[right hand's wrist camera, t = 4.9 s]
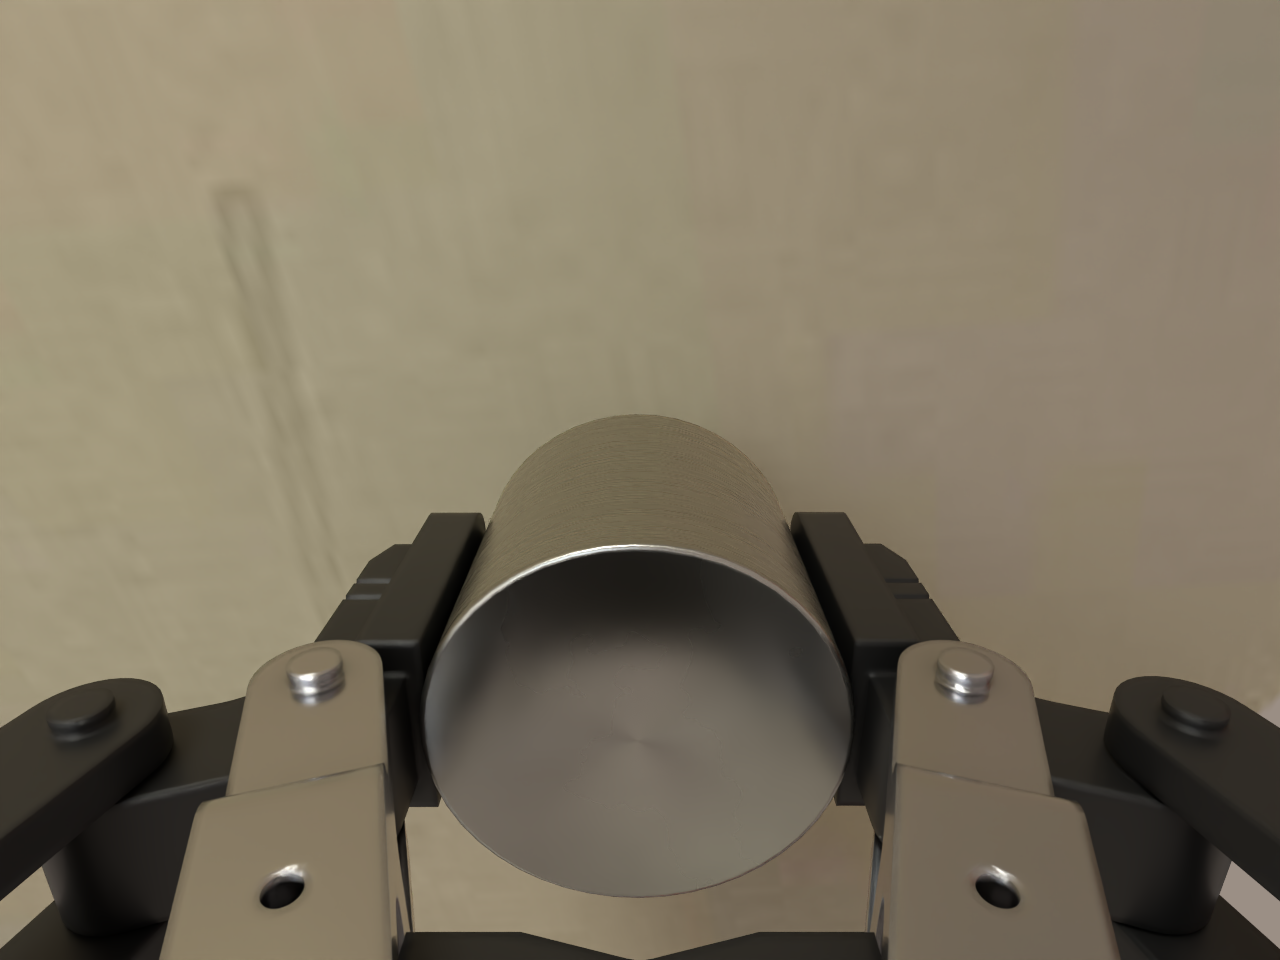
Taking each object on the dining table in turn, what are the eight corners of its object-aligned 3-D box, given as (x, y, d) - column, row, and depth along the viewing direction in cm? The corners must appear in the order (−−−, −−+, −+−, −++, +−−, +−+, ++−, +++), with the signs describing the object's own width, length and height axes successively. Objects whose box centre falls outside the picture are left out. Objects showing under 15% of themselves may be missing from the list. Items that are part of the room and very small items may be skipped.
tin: (759, 691, 13) (810, 916, 9) (483, 664, 13) (415, 883, 9) (812, 431, 12) (902, 570, 8) (496, 396, 12) (421, 520, 7)
